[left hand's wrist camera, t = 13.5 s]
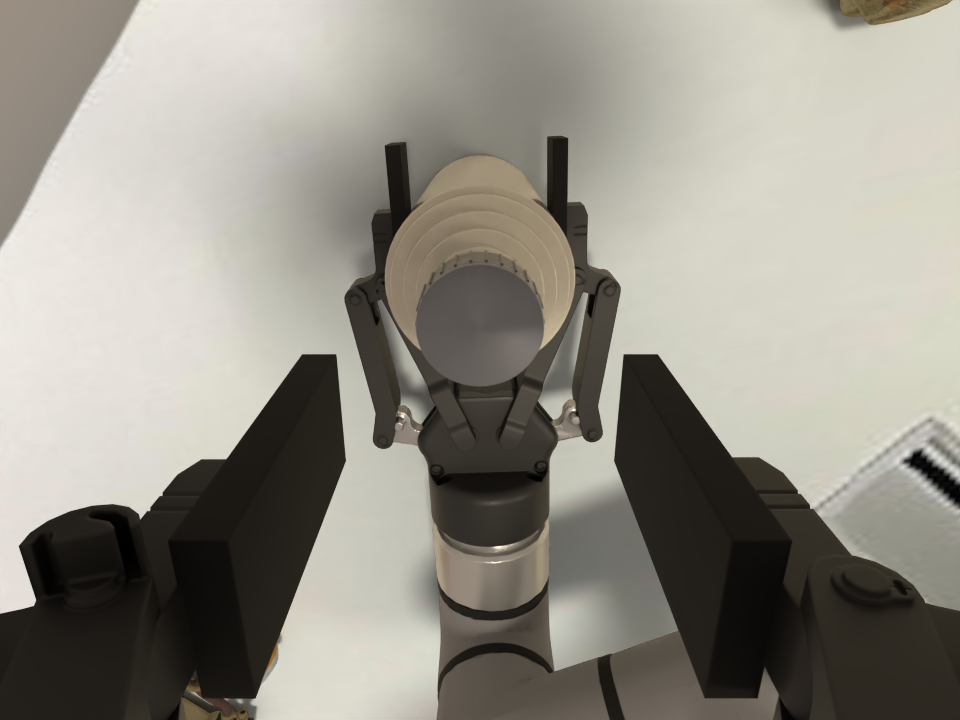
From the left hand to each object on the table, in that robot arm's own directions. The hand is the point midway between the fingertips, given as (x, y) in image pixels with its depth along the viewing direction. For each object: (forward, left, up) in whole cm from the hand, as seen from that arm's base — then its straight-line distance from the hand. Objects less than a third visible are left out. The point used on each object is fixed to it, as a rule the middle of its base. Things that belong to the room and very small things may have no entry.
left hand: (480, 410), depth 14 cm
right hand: (-4, -3, -21) cm, 22 cm away
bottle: (0, 0, -28) cm, 28 cm away
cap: (0, 0, -6) cm, 6 cm away
